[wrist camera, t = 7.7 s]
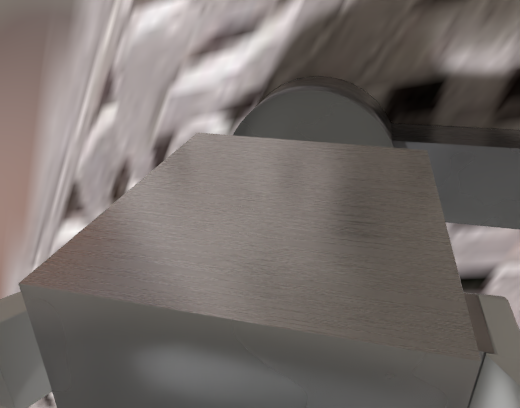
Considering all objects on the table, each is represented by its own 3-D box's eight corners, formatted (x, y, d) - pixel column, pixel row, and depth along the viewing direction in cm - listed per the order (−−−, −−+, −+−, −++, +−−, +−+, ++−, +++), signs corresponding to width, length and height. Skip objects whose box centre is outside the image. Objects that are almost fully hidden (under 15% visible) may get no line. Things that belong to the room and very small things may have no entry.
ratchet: (797, 91, 13) (1036, 157, 8) (707, 261, 16) (847, 384, 11) (241, 73, 17) (185, 112, 12) (245, 213, 19) (201, 290, 15)
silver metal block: (427, 150, 9) (480, 362, 4) (394, 334, 12) (403, 614, 7) (197, 132, 11) (19, 284, 5) (209, 304, 13) (93, 524, 8)
